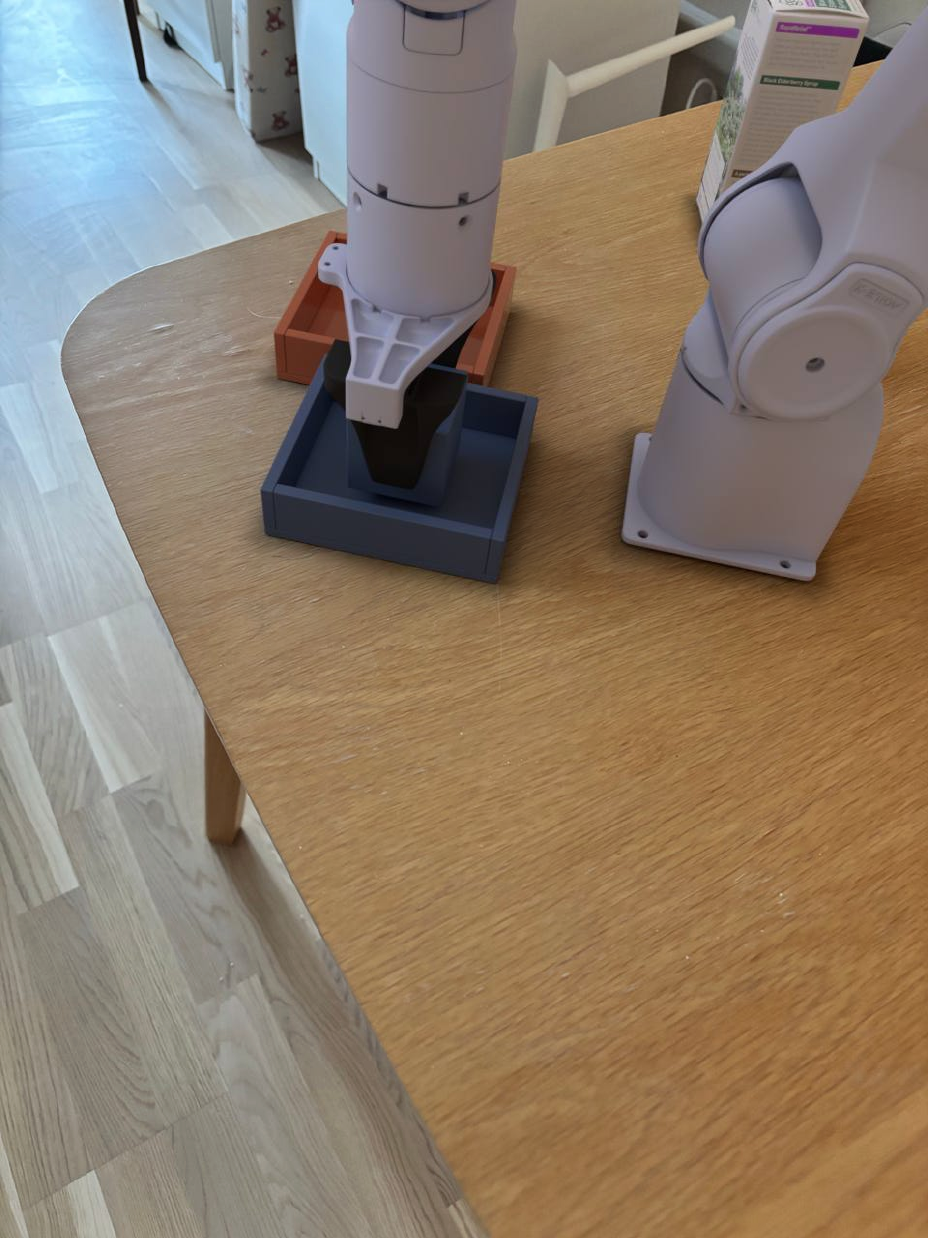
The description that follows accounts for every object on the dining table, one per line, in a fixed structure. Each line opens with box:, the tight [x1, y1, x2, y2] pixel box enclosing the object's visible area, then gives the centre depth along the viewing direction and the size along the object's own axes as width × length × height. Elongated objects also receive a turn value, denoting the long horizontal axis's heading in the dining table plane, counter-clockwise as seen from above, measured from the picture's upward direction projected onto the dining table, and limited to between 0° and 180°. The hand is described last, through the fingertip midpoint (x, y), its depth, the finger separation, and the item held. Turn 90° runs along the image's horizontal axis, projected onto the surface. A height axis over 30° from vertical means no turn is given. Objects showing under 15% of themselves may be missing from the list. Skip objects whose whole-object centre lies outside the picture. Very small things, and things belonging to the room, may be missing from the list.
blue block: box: [347, 363, 468, 507], centre depth 46 cm, size 5×5×5 cm
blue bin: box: [259, 354, 540, 585], centre depth 48 cm, size 11×10×3 cm
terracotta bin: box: [273, 230, 518, 387], centre depth 55 cm, size 11×10×3 cm
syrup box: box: [694, 0, 871, 226], centre depth 61 cm, size 6×6×14 cm
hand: (407, 443), depth 47 cm, fingers closed on blue block, 4 cm apart
